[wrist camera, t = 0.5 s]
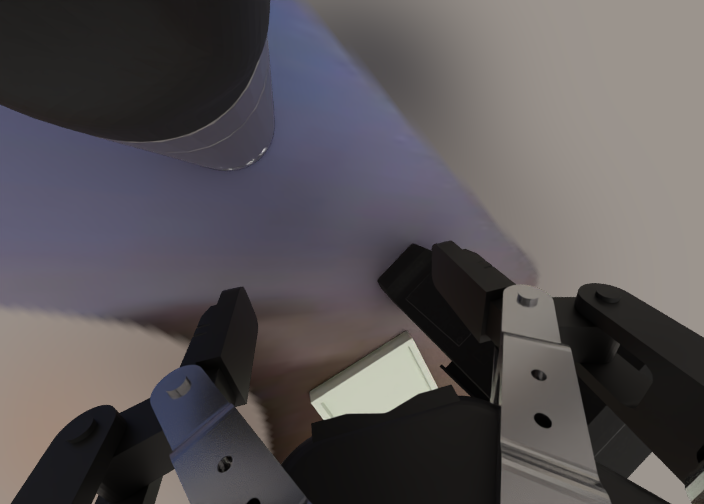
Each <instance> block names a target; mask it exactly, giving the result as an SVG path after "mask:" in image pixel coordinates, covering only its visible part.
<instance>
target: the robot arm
mask: <svg viewBox="0 0 704 504" xmlns="http://www.w3.org/2000/svg"><path fill="white" fill-rule="evenodd" d="M269 13H270V0H0V104H1V105H3V106H5V107H7V108H10V109H12V110H15V111H17V112H20V113H22V114H25V115H27V116H30V117H32V118H35V119H38V120H42V121H45V122H48V123H51V124H54V125H57V126H60V127H64V128H67V129H71V130H74V131H78V132H81V133H85V134H89V135H92V136H96V137H99V138H103V139H106V140H110V141H113V142H117V143H121V144H124V145H128V146H132V147H135V148H139V149H143V150H147V151H150V152H154V153H158V154H161V155H165V156H168V157H172V158H176V159H179V160H183V161H186V162H190V163H193V164H197V165H200V166H204V167H208V168H212V169H216V170H223V171H233V170H239V169H243V168H245V167H248V166H251V165H252V164H253V163H255V162H256V161H258V160H259V159H260V158H261V157H262V156H263V155H264V154H265V153H266V151H267V149H268V148H269V146H270V144H271V141H272V138H273V135H274V125H275V120H274V106H273V94H272V83H271V71H270V60H269V48H268V40H267V32H268V25H269ZM432 279H433V283H434V285H435V287H436V289H437V290H438V291H439V292H440V294H441V295H442V296H443V298H444V299H445V300H446V301H447V303H448V304H449V305H450V306H451V308H452V309H453V310H454V311H455V313H456V314H457V315H458V316H459V318H460V319H461V320H462V321H463V323H464V324H465V325H466V327H467V328H468V329H469V330H470V332H471V333H472V334H473V335H474V337H475V338H476V339H477V340H478V342H479V343H483V342H486V341H490V340H492V341H493V343H494V344H495V347H494V357H493V373H492V388H491V399H490V402H488V401H485V400H482V399H479V398H474V397H469V396H458V395H457V394H456V392H455V390H454V388H453V387H452V385H448V386H445V387H441V388H437V389H434V390H430V391H427V392H423V393H419V394H417V395H416V396H414V397H412V398H411V399H409V400H407V401H406V402H404V403H402V404H401V405H399V406H397V407H396V408H394V409H392V410H391V411H389V412H386V413H358V414H344V415H340V416H337V417H333V418H330V419H326V420H322V421H319V422H315V423H312V424H311V427H312V437H310V438H309V439H307V440H306V441H304V442H303V443H302V444H300V445H299V446H298V447H297V448H296V449H295V450H294V451H293V452H291V453H290V455H289V456H288V457H287V458H286V459H285V460H284V461H283V463H282V464H281V465H280V463H279V462H278V461H277V460H276V458H275V457H274V456H273V455H272V453H271V452H270V451H269V450H268V448H267V447H266V446H265V444H264V443H263V442H262V441H261V439H260V438H259V437H258V436H257V434H256V433H255V432H254V431H253V429H252V428H251V427H250V426H249V424H248V423H247V422H246V420H245V419H244V418H243V417H242V415H241V414H240V413H239V412H238V410H237V409H236V408H235V407H237V406H241V405H245V404H247V398H248V392H249V385H250V379H251V372H252V366H253V359H254V353H255V346H256V340H257V333H258V322H257V318H256V315H255V312H254V310H253V307H252V305H251V302H250V300H249V297H248V295H247V293H246V290H245V289H244V287H237V288H233V289H228V290H224V291H222V293H221V295H220V298H219V300H218V303H217V305H214V306H211V307H210V308H209V309H208V310H207V311H206V312H205V313H204V314H203V315H202V317H201V319H200V321H199V324H198V326H197V327H198V328H197V329H196V331H195V333H194V337H193V338H192V340H191V342H190V345H189V347H188V349H187V352H186V354H185V356H184V359H183V361H182V363H181V365H180V368H178V369H176V370H174V371H172V372H171V373H169V374H168V375H167V376H165V377H164V378H163V379H162V380H161V381H160V382H159V383H158V384H157V386H156V387H155V388H154V390H153V392H152V394H151V397H150V398H149V399H147V400H145V401H143V402H141V403H139V404H137V405H135V406H133V407H131V408H129V409H127V410H125V411H123V412H121V413H119V412H118V411H117V410H116V409H115V408H114V407H113V406H111V405H101V406H97V407H95V408H92V409H90V410H88V411H86V412H84V413H83V414H81V415H79V416H78V417H76V418H75V419H74V420H72V421H71V422H70V423H69V424H67V425H66V426H65V427H64V428H63V429H62V430H61V431H60V432H59V433H58V434H57V436H56V437H55V438H54V440H53V441H52V442H51V444H50V446H49V447H48V449H47V450H46V452H45V453H44V454H43V456H42V457H41V459H40V460H39V462H38V464H37V465H36V467H35V468H34V470H33V471H32V473H31V474H30V476H29V477H28V479H27V480H26V482H25V483H24V485H23V486H22V488H21V489H20V491H19V492H18V494H17V495H16V497H15V498H14V500H13V501H12V503H11V504H92V502H93V499H94V497H95V495H96V493H97V494H98V498H97V500H96V502H95V504H155V501H156V497H157V494H158V491H159V487H160V484H161V481H162V477H163V475H165V474H167V473H169V472H170V471H172V470H173V469H175V470H176V473H177V475H178V477H179V479H180V482H181V484H182V486H183V488H184V490H185V493H186V495H187V497H188V499H189V501H190V504H670V503H669V502H667V501H665V500H663V499H662V498H660V497H658V496H656V495H655V494H653V493H651V492H649V491H648V490H646V489H644V488H642V487H641V486H639V485H637V484H635V483H634V482H632V481H630V480H628V479H627V478H625V477H623V476H621V475H620V474H618V473H616V472H614V471H613V470H611V469H609V468H607V467H606V466H604V465H602V464H600V463H599V462H597V461H595V460H594V455H593V450H592V446H591V441H590V436H589V432H588V427H587V422H586V417H585V413H584V408H583V403H582V398H581V394H580V389H579V384H578V380H577V375H578V376H579V377H580V378H581V379H582V380H583V381H584V382H585V383H586V384H587V386H588V387H589V388H590V389H591V390H592V391H593V392H594V393H595V394H596V395H597V396H598V397H599V398H600V399H601V400H602V401H603V402H604V403H605V404H606V405H607V406H608V407H609V408H610V409H611V410H612V411H613V412H614V413H615V414H616V415H617V416H618V417H619V418H620V419H621V420H622V421H623V422H624V423H625V424H626V425H627V426H628V427H629V428H630V429H631V430H632V431H633V432H634V433H635V435H636V436H637V437H638V438H639V439H640V440H641V441H642V442H643V443H644V444H645V445H646V446H647V447H648V448H649V449H650V450H651V451H652V452H653V453H654V454H655V455H656V456H657V457H658V458H659V459H660V460H661V461H662V462H663V463H664V464H665V465H666V466H667V467H668V468H669V469H670V470H671V471H672V472H673V473H674V474H675V475H676V476H677V477H678V478H679V479H680V480H681V481H682V482H683V483H684V485H685V490H686V492H687V495H688V497H689V499H690V501H691V503H692V504H704V337H702V336H700V335H698V334H697V333H695V332H693V331H692V330H690V329H688V328H686V327H685V326H683V325H681V324H680V323H678V322H677V321H675V320H673V319H672V318H670V317H668V316H667V315H665V314H663V313H662V312H660V311H658V310H657V309H655V308H653V307H652V306H650V305H648V304H646V303H645V302H643V301H641V300H639V299H638V298H636V297H635V296H633V295H631V294H630V293H628V292H626V291H624V290H622V289H620V288H617V287H614V286H611V285H606V284H599V283H598V284H597V283H591V284H585V285H583V286H581V287H580V288H579V290H578V293H577V296H576V297H551V296H550V295H549V294H548V293H547V292H545V291H543V290H542V289H539V288H537V287H534V286H530V285H516V284H515V283H514V282H512V281H511V280H510V279H508V278H507V277H506V276H505V275H503V274H502V273H501V272H500V271H498V270H497V269H496V268H495V267H492V265H491V264H490V263H488V262H487V261H485V259H483V258H482V257H481V256H480V255H478V254H477V253H474V252H472V251H469V250H467V249H463V250H462V249H461V248H460V247H459V246H458V245H456V244H455V243H454V242H453V241H446V242H442V243H437V244H434V245H433V246H432ZM620 345H622V346H623V347H624V348H625V349H627V350H628V351H629V352H631V353H632V354H633V355H634V356H636V357H637V358H638V359H640V360H641V361H642V362H643V363H644V364H645V365H646V366H647V367H648V368H649V369H650V371H651V373H652V376H653V382H652V381H651V380H649V379H648V378H647V377H646V376H644V375H643V374H642V373H641V372H639V371H638V370H637V369H636V368H635V367H633V366H632V365H631V364H630V363H628V362H627V361H626V360H625V359H624V358H622V357H621V356H620V355H619V354H617V353H616V352H617V350H618V348H619V346H620ZM576 374H577V375H576Z"/></svg>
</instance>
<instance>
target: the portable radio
mask: <svg viewBox="0 0 704 504" xmlns="http://www.w3.org/2000/svg"><path fill="white" fill-rule="evenodd" d="M378 283H379V285H380V287H381V288H382V290H383V291H384V292H385V293H386V294H387V295H388V296H389V297H390V298H391V300H392V301H393V302H394V303H395V304H396V305H397V306H398V307H399V308H400V309H401V310H402V311H403V312H404V313H405V314H406V315H407V316H408V317H409V318H410V319H411V320H412V321H413V322H414V323H415V324H416V325H417V326H418V327H419V328H420V329H421V330H422V331H423V332H424V333H425V334H426V335H427V336H428V337H429V338H430V339H431V340H432V341H433V342H434V343H435V344H436V345H437V346H438V347H439V348H440V349H441V350H442V351H443V352H444V353H445V354H446V355H447V356H448V357H449V358H450V359H451V360H452V362H451V363H450V364H449V365H448V366H447V367H446V368H445V367H444V366H443V365H441V366H440V367H441V368H442V369H443V370H444V371H445V372H446V373H447V374H448V375H449V376H450V377H451V378H452V379H453V380H454V381H455V382H456V383H457V384H458V385H459V386H460V387H461V388H462V389H463V390H465V391H466V392H467V393H468V394H469V395H470V396H471V397H474V398H479V399H482V400H485V401H488V402H490V399H491V388H492V373H493V357H494V347H495V344H494V343H493V341H492V340H490V341H486V342H483V343H479V342H478V340H477V339H476V338H475V337H474V335H473V334H472V333H471V332H470V330H469V329H468V328H467V327H466V325H465V324H464V323H463V321H462V320H461V319H460V318H459V316H458V315H457V314H456V313H455V311H454V310H453V309H452V308H451V306H450V305H449V304H448V303H447V301H446V300H445V299H444V298H443V296H442V295H441V294H440V292H439V291H438V290H437V289H436V287H435V285H434V283H433V279H432V251H431V250H428V249H426V248H423V247H421V246H418V245H416V244H412V245H411V246H410V247H409V248H408V249H407V250H406V251H405V252H404V253H403V254H402V255H401V256H400V257H399V258H398V259H397V260H396V261H395V262H394V263H393V265H392V266H391V267H390V268H389V269H388V270H387V271H386V272H385V273H384V274H383V275H382V276H381V277H380V278H379V280H378ZM616 353H617V354H619V355H620V356H621V357H622V358H624V359H625V360H626V361H627V362H628V363H630V364H631V365H632V366H633V367H635V368H636V369H637V370H638V371H639V372H641V373H642V374H643V375H644V376H646V377H647V378H648V379H649V380H651V381H652V382H653V376H652V373H651V371H650V369H649V368H648V367H647V366H646V365H645V364H644V363H643V362H642V361H641V360H640V359H638V358H637V357H636V356H634V355H633V354H632V353H631V352H629V351H628V350H627V349H625V348H624V347H623V346H622V345H620V346H619V348H618V350H617V352H616ZM576 375H577V374H576ZM577 380H578V384H579V389H580V394H581V398H582V403H583V408H584V413H585V417H586V422H587V427H588V432H589V436H590V441H591V446H592V450H593V455H594V460H595V461H597V462H599V463H600V464H602V465H604V466H606V467H607V468H609V469H611V470H613V471H614V472H616V473H618V474H620V475H621V476H623V477H625V478H628V477H629V476H630V475H631V474H632V473H633V472H634V470H635V469H636V468H637V467H638V466H639V465H640V464H641V463H642V462H643V461H644V460H645V458H647V457H648V455H649V454H650V453H651V452H652V451H651V450H650V449H649V448H648V447H647V446H646V445H645V444H644V443H643V442H642V441H641V440H640V439H639V438H638V437H637V436H636V435H635V433H634V432H633V431H632V430H631V429H630V428H629V427H628V426H627V425H626V424H625V423H624V422H623V421H622V420H621V419H620V418H619V417H618V416H617V415H616V414H615V413H614V412H613V411H612V410H611V409H610V408H609V407H608V406H607V405H606V404H605V403H604V402H603V401H602V400H601V399H600V398H599V397H598V396H597V395H596V394H595V393H594V392H593V391H592V390H591V389H590V388H589V387H588V386H587V384H586V383H585V382H584V381H583V380H582V379H581V378H580V377H579V376H578V375H577Z"/></svg>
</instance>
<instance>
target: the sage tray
mask: <svg viewBox="0 0 704 504" xmlns="http://www.w3.org/2000/svg"><path fill="white" fill-rule="evenodd" d="M437 388H438V387H437V385H436V383H435V381H434V379H433V377H432V375H431V373H430V371H429V369H428V368H427V366H426V364H425V362H424V360H423V358H422V356H421V354H420V352H419V350H418V348H417V346H416V344H415V342H414V340H413V338H412V337H411V336H410V335H409V334H408V333H407V331H405V332H403V333H402V334H400V335H398V336H397V337H395V338H394V339H392V340H390V341H389V342H387V343H386V344H384V345H383V346H381V347H379V348H378V349H376V350H375V351H373V352H372V353H370V354H368V355H367V356H365V357H364V358H362V359H360V360H359V361H357V362H356V363H354V364H353V365H351V366H349V367H348V368H346V369H345V370H343V371H341V372H340V373H338V374H337V375H335V376H334V377H332V378H330V379H329V380H327V381H326V382H324V383H323V384H321V385H319V386H318V387H316V388H315V389H313V390H311V391H310V392H309V393H310V400H311V404H312V405H313V406H314V408H315V409H316V410H317V412H318V413H319V414H320V416H321V417H322V418H323V420H326V419H330V418H333V417H337V416H340V415H344V414H358V413H386V412H389V411H391V410H392V409H394V408H396V407H397V406H399V405H401V404H402V403H404V402H406V401H407V400H409V399H411V398H412V397H414V396H416V395H417V394H419V393H423V392H427V391H430V390H434V389H437Z"/></svg>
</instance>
